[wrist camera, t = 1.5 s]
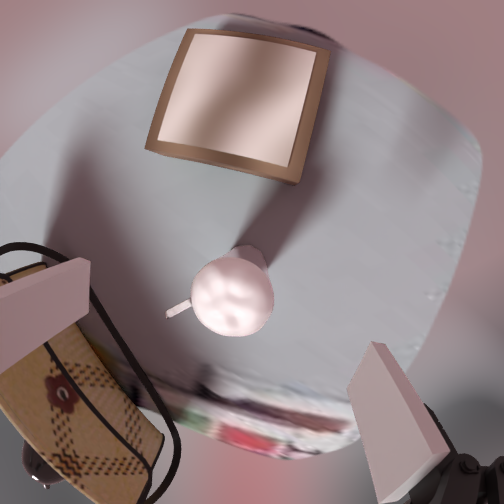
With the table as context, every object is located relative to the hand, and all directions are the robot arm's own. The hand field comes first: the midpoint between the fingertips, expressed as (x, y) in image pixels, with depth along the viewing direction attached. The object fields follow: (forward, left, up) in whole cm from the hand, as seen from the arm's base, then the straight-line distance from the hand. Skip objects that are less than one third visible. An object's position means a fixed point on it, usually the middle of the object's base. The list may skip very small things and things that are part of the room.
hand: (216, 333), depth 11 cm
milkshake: (0, 0, -12) cm, 12 cm away
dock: (-3, +13, -12) cm, 17 cm away
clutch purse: (-12, -14, -12) cm, 22 cm away
